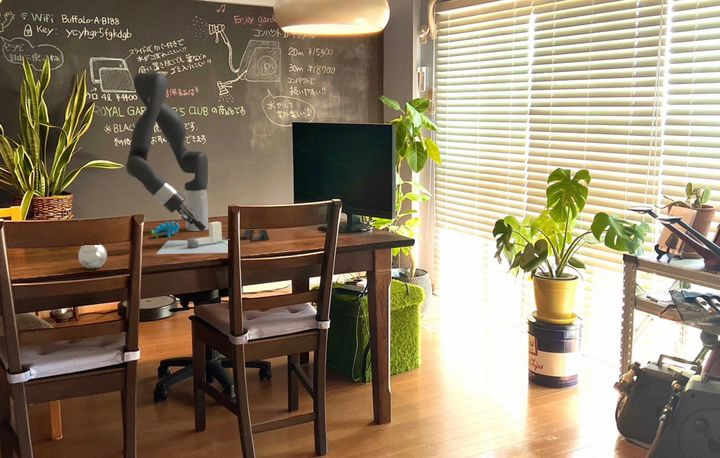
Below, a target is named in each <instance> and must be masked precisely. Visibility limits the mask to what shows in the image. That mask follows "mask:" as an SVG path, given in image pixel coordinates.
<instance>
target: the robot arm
mask: <svg viewBox="0 0 720 458" xmlns="http://www.w3.org/2000/svg"><path fill="white" fill-rule="evenodd" d="M133 88H134V91H135V93H136V95H137V96H138V98H139V99H140V100H141V101H142V103H143V104H144V106H145V107H146V108H145V110H144V112H143V113H142V114H141V116H140V117H139V118H138V120H137V121H136V123H135V124H134V127H133V130H132V135H131V140H130V148H129V153H128V158H127V161H126V165H125V170H126V172H127V174H128V175H129V176H131V177H132V178H135V179H137V180H138V182H140V183H141V184H142V185H143V187H144V188H145V189H146V190H147V191H148V192H149V193H150V194H151V195H152V196H153V197H154V198H155V199H156V200H157V201H158V202H159V203H160V204H161V205H162V206H163V207H164V208H165V209H166V210H167V211H168V212H170V213H171V214H173V213H174V212H175V211H176V212H178V215H179V216H180V218H181V219H182V220H184V221H185V227H186V228H185V229H186V231H189V232H203V231H209V207H208V205H209V204H208V203H209V202H208V183H209V160H208V156H207V154H206V153H205V152H204V151H194V150H193V151H192V150H191V151H190V150H188V149H187V147H186V145H185V139H186V134H187V126H186V125H185V123H184V121H183V119H182V117H181V116H180V114H179V113H178V112H177V111H176V110H175V109H173V108H172V107H171V106H170V105H168V104H167V103H165V101H164V100H165V98H166V95H167V90H168V80H167V78H166V76H165V75H164V74H162V73H158V72H157V73H156V72H141V73H138V74H136V75H135V76H134V78H133ZM156 124H157V126H158V127H159V130H160V131H161V133H162V134H163V136H164V138H165V139H166V142H167V143H168V145H169V147H170V148H171V150H172V153H173V154H174V157H175V159H176V162H177V164H178V166H179V168H180V169H181V171H182V172H184V173H186V174H194V177H193V179H192V180H189V181H186V182H185V183H184V196H183V195H182V193H180V192H179V191H178V190H177V189H176V188H175V187H174V186H172V185H171V184H170V183H169V182H167V180H165V179H164V178H163V177H162V176H161V175H159V174H158V173H157V172H156V171H155V170H154V169H153V167H152V166H151V165H150V164H149V163H148V162H147V161H148V155H149V151H150V148H151V144H152V140H153V139H152V138H153V134H154V129H155V126H156Z"/></svg>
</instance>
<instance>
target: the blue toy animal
mask: <svg viewBox="0 0 720 458" xmlns="http://www.w3.org/2000/svg"><path fill="white" fill-rule="evenodd" d="M179 230H180V225H179V223H178V222H175V221H170V223H169V221H165V222H164V224H163V223H160V224H159V225H158V226H156V227H155V230H154V229H152V230H151V231H150V232H151V235H154V237H155V238H156V239H158V238H159V237H162V236H167V238H171V235H175V233H178V232H179Z"/></svg>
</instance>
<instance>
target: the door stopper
mask: <svg viewBox="0 0 720 458" xmlns="http://www.w3.org/2000/svg"><path fill="white" fill-rule="evenodd" d="M257 232H258V234H259V235H258V236H256V237H255V236H254V233H255V229H254V230H246V229H245V230H244V234H243V237H244V238H246V239H248V240H249V241H253V242H261V240H262V241H269V240H270V238H269V234H268V232H267V229H266V230H258V229H257Z"/></svg>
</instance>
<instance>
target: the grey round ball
mask: <svg viewBox="0 0 720 458" xmlns="http://www.w3.org/2000/svg"><path fill="white" fill-rule="evenodd" d="M99 244H100V245H84V246H80V249H79V251H78V260H79V263H80V264H81V265H82V266H83V267H84V268H86V269H89V270H91V269H92V270H96V269H98V268H101V267H102V266H103V265H104V264H105V263H106V261H107V257H108V254H107V253H108V252H107V249H106V247H104V245H102V244H101V243H99ZM95 268H96V269H95Z"/></svg>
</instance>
